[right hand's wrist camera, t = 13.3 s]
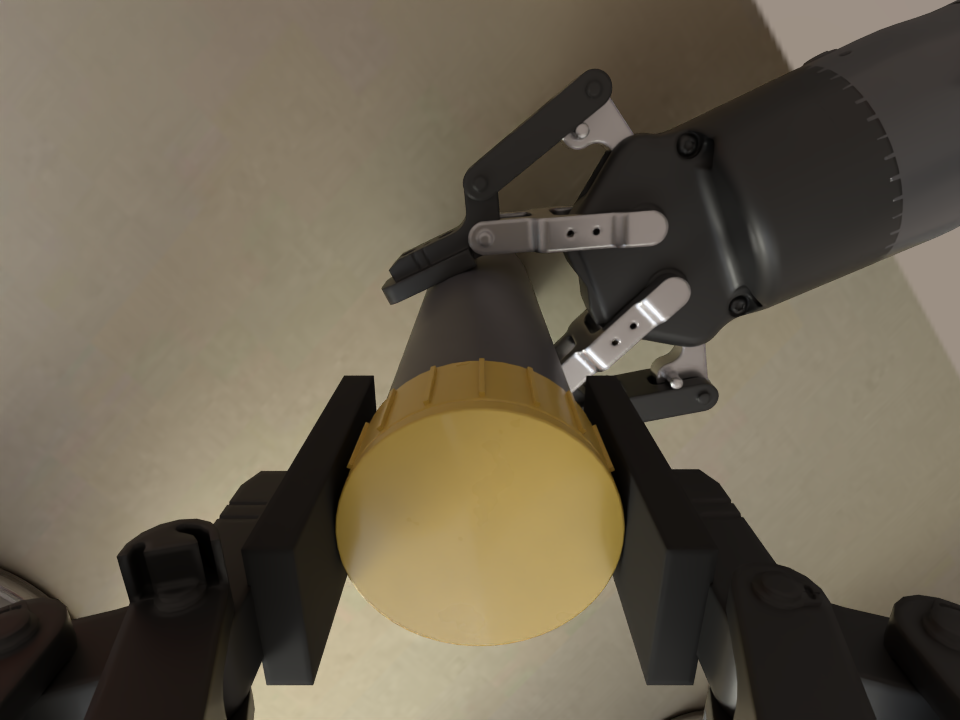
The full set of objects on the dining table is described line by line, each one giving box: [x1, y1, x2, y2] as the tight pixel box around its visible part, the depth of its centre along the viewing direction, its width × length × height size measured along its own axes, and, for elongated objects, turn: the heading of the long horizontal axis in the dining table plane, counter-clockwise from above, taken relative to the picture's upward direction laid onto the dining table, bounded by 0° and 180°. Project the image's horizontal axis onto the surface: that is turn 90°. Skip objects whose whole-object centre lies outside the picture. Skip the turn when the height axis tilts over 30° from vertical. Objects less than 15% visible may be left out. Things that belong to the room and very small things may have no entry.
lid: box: [335, 358, 625, 646], centre depth 11 cm, size 6×6×2 cm
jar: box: [387, 253, 570, 398], centre depth 20 cm, size 5×5×19 cm
